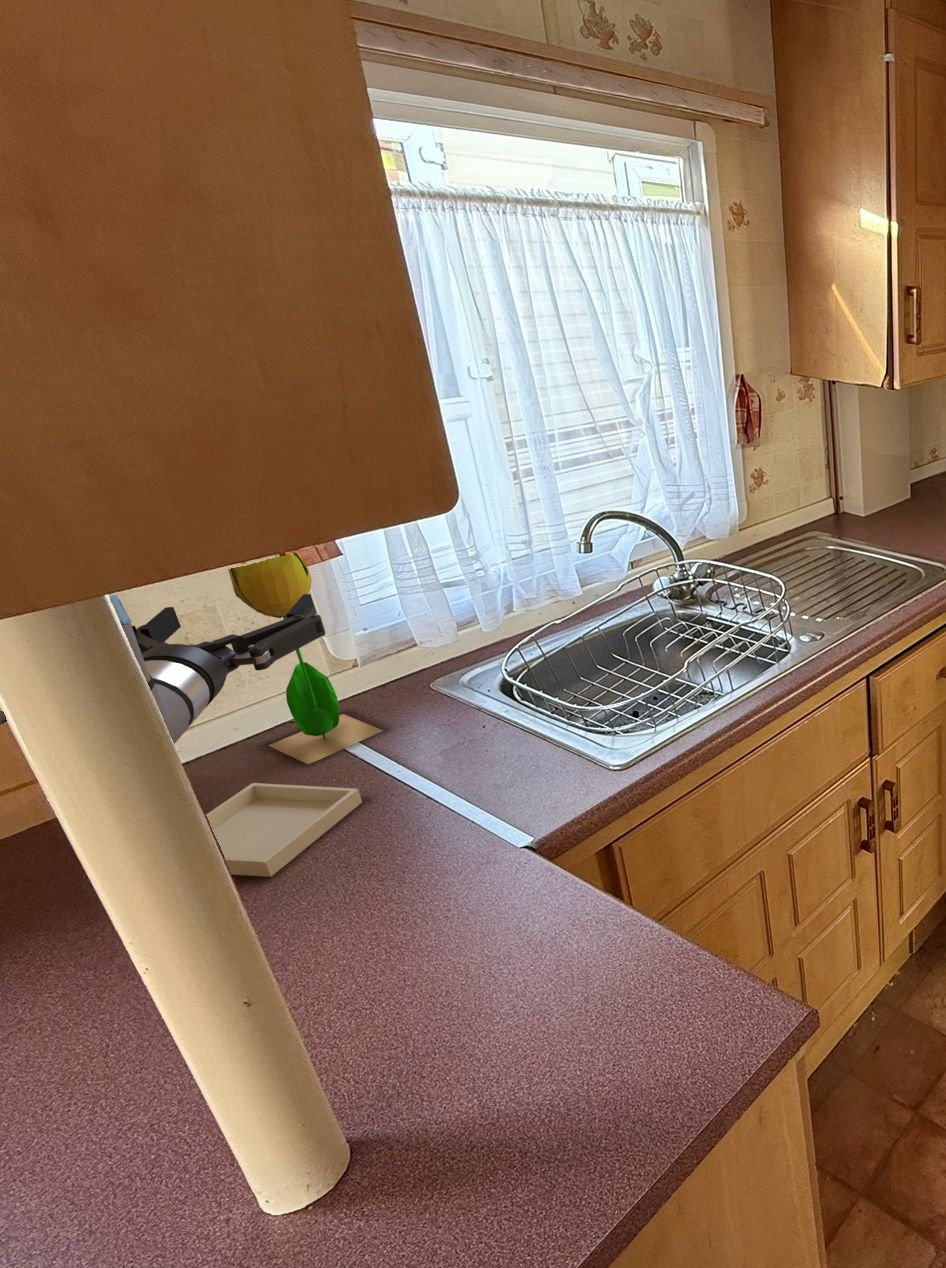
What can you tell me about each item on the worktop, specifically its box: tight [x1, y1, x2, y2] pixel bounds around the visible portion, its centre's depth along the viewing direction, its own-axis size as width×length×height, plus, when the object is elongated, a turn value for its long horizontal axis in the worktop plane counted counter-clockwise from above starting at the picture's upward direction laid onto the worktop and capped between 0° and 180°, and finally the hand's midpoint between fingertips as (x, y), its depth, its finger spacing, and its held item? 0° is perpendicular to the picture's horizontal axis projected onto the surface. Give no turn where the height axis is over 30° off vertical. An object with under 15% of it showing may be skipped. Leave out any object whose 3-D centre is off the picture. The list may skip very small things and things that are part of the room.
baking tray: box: [205, 782, 363, 878], centre depth 106 cm, size 14×14×3 cm
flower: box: [227, 552, 340, 739], centre depth 119 cm, size 9×8×30 cm
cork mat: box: [267, 713, 384, 765], centre depth 125 cm, size 10×10×1 cm
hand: (243, 610), depth 107 cm, fingers open, 13 cm apart
